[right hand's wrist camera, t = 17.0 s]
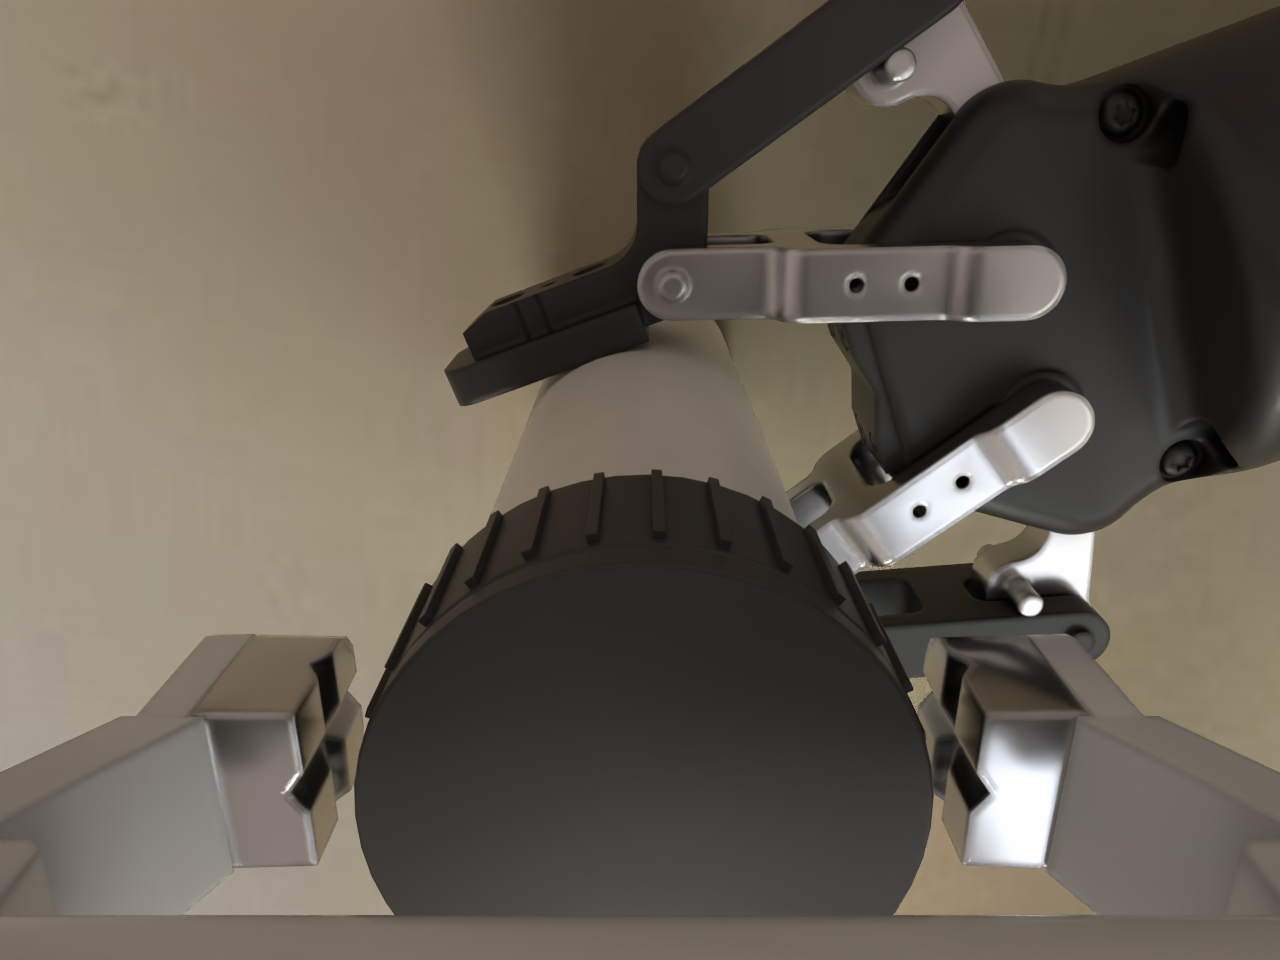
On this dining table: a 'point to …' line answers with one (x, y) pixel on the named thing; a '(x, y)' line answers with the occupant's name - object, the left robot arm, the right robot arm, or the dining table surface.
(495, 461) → the dining table surface
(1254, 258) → the left robot arm
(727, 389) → the white bottle
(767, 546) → the lid
